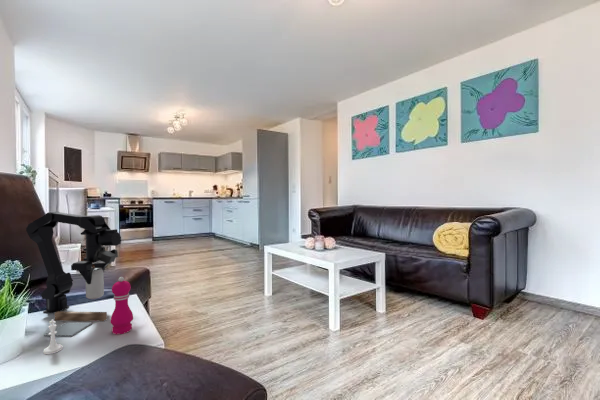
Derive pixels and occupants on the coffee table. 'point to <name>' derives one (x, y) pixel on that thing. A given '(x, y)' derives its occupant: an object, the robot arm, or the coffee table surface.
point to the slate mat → (69, 329)
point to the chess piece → (52, 340)
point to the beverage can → (95, 285)
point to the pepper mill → (121, 308)
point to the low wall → (80, 316)
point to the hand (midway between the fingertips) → (94, 281)
